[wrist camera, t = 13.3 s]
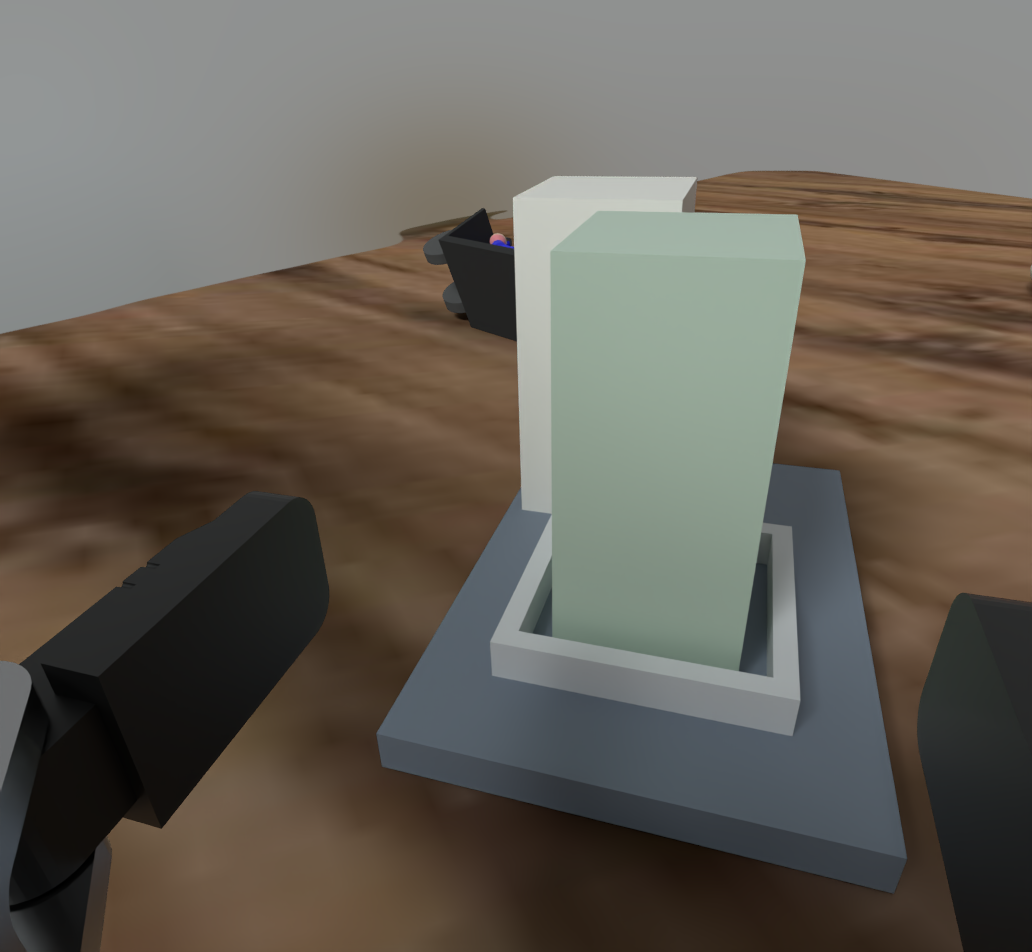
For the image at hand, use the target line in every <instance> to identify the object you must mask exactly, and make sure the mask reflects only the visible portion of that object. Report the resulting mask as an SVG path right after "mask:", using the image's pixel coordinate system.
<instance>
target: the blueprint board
mask: <svg viewBox="0 0 1032 952" xmlns="http://www.w3.org/2000/svg"><path fill="white" fill-rule="evenodd" d="M376 735H377V741H378V747H379V752H380V758H381V764H382V767H386V768H390V769H394V770H398V771H402V772H406V773H410V774H414V775H418V776H422V777H426V778H430V779H434V780H438V781H442V782H446V783H450V784H454V785H458V786H462V787H466V788H470V789H474V790H478V791H483V792H487V793H491V794H495V795H499V796H503V797H507V798H511V799H515V800H519V801H523V802H527V803H531V804H535V805H539V806H543V807H547V808H551V809H555V810H559V811H563V812H567V813H571V814H575V815H579V816H583V817H587V818H591V819H595V820H599V821H603V822H607V823H611V824H615V825H619V826H623V827H627V828H631V829H636V830H640V831H644V832H648V833H652V834H656V835H660V836H664V837H668V838H672V839H676V840H680V841H684V842H688V843H692V844H696V845H700V846H704V847H708V848H712V849H716V850H720V851H724V852H728V853H732V854H736V855H740V856H744V857H748V858H752V859H756V860H760V861H764V862H768V863H772V864H776V865H780V866H784V867H788V868H793V869H797V870H801V871H805V872H809V873H813V874H817V875H821V876H825V877H829V878H833V879H837V880H841V881H845V882H849V883H853V884H857V885H861V886H865V887H869V888H873V889H877V890H881V891H885V892H889V893H893V894H894V892H895V890H896V887H897V884H898V882H899V879H900V876H901V874H902V871H903V869H904V866H905V863H906V861H907V855H906V849H905V844H904V838H903V832H902V826H901V821H900V815H899V809H898V803H897V798H896V792H895V786H894V780H893V775H892V769H891V763H890V757H889V751H888V746H887V740H886V734H885V728H884V723H883V717H882V711H881V705H880V700H879V694H878V688H877V682H876V677H875V671H874V665H873V659H872V654H871V648H870V642H869V636H868V631H867V625H866V619H865V613H864V607H863V602H862V596H861V590H860V584H859V579H858V573H857V567H856V561H855V556H854V550H853V544H852V538H851V533H850V527H849V521H848V515H847V510H846V504H845V498H844V492H843V487H842V481H841V475H840V471H838V470H829V469H820V468H810V467H801V466H792V465H782V464H773V463H772V469H771V476H770V482H769V488H768V494H767V500H766V506H765V512H764V518H763V525H762V531H761V537H760V543H759V549H758V555H757V561H756V567H755V574H754V580H753V586H752V592H751V598H750V604H749V610H748V616H747V623H746V629H745V635H744V641H743V647H742V653H741V659H740V665H739V671H734V670H728V669H723V668H717V667H712V666H707V665H701V664H696V663H690V662H685V661H679V660H674V659H668V658H663V657H657V656H652V655H646V654H641V653H635V652H630V651H625V650H619V649H614V648H608V647H603V646H597V645H592V644H586V643H581V642H575V641H570V640H564V639H559V638H554V637H552V514H550V513H542V512H535V511H528V510H522V495H521V488H520V490H519V491H518V493H517V495H516V497H515V498H514V500H513V502H512V503H511V505H510V507H509V508H508V510H507V512H506V514H505V515H504V517H503V519H502V520H501V522H500V524H499V526H498V527H497V529H496V531H495V532H494V534H493V536H492V537H491V539H490V541H489V543H488V544H487V546H486V548H485V549H484V551H483V553H482V555H481V556H480V558H479V560H478V561H477V563H476V565H475V566H474V568H473V570H472V572H471V573H470V575H469V577H468V578H467V580H466V582H465V583H464V585H463V587H462V589H461V590H460V592H459V594H458V595H457V597H456V599H455V601H454V602H453V604H452V606H451V607H450V609H449V611H448V612H447V614H446V616H445V618H444V619H443V621H442V623H441V624H440V626H439V628H438V629H437V631H436V633H435V635H434V636H433V638H432V640H431V641H430V643H429V645H428V647H427V648H426V650H425V652H424V653H423V655H422V657H421V658H420V660H419V662H418V664H417V665H416V667H415V669H414V670H413V672H412V674H411V675H410V677H409V679H408V681H407V682H406V684H405V686H404V687H403V689H402V691H401V693H400V694H399V696H398V698H397V699H396V701H395V703H394V704H393V706H392V708H391V710H390V711H389V713H388V715H387V716H386V718H385V720H384V722H383V723H382V725H381V727H380V728H379V730H378V732H377V733H376Z"/></svg>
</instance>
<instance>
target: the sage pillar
mask: <svg viewBox="0 0 1032 952" xmlns="http://www.w3.org/2000/svg"><path fill="white" fill-rule="evenodd" d="M805 261H806V260H805V254H804V248H803V243H802V237H801V232H800V226H799V221H798V215H784V214H735V213H685V212H636V211H597V212H596V213H595V214H593V215H592V216H591V217H590V218H589V219H588V220H586V221H585V222H584V223H583V224H582V225H581V226H579V227H578V228H577V229H576V230H575V231H573V232H572V233H571V234H570V235H569V236H568V237H566V238H565V239H564V240H563V241H562V242H561V243H559V244H558V245H557V246H556V247H555V248H553V249H552V250H551V251H550V274H551V462H552V637H554V638H559V639H564V640H570V641H575V642H581V643H586V644H592V645H597V646H603V647H608V648H614V649H619V650H625V651H630V652H635V653H641V654H646V655H652V656H657V657H663V658H668V659H674V660H679V661H685V662H690V663H696V664H701V665H707V666H712V667H717V668H723V669H728V670H734V671H739V665H740V659H741V653H742V647H743V641H744V635H745V629H746V623H747V616H748V610H749V604H750V598H751V592H752V586H753V580H754V574H755V567H756V561H757V555H758V549H759V543H760V537H761V531H762V525H763V518H764V512H765V506H766V500H767V494H768V488H769V482H770V476H771V469H772V463H773V457H774V451H775V445H776V439H777V433H778V427H779V420H780V414H781V408H782V402H783V396H784V390H785V384H786V378H787V371H788V365H789V359H790V353H791V347H792V341H793V335H794V329H795V322H796V316H797V310H798V304H799V298H800V292H801V286H802V280H803V273H804V267H805Z"/></svg>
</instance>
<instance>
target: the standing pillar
mask: <svg viewBox="0 0 1032 952" xmlns="http://www.w3.org/2000/svg"><path fill="white" fill-rule="evenodd" d="M696 188H697V177H609V176H607V177H603V176H601V177H599V176H553V177H551V178H550V179H548V180H546V181H544V182H542V183H540V184H538V185H536V186H534V187H532V188H530V189H528V190H527V191H525V192H523V193H521V194H519V195H517V196H515V197H513V218H514V253H515V288H516V322H517V357H518V391H519V426H520V460H521V495H522V510H528V511H535V512H542V513H550V514H552V462H551V274H550V251H551V250H552V249H553V248H555V247H556V246H557V245H558V244H559V243H561V242H562V241H563V240H564V239H565V238H566V237H568V236H569V235H570V234H571V233H572V232H573V231H575V230H576V229H577V228H578V227H579V226H581V225H582V224H583V223H584V222H585V221H586V220H588V219H589V218H590V217H591V216H592V215H593V214H595V213H596V212H597V211H636V212H685V213H694V211H695V199H696Z"/></svg>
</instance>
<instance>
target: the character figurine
mask: <svg viewBox="0 0 1032 952" xmlns="http://www.w3.org/2000/svg"><path fill="white" fill-rule="evenodd" d="M511 245H512V241H511V239H510V238H506V237H504V236H503V235H502V234H494V235H493V232H492V229H491V226H490V223H489V219H488V216H487V213H486V210H485V209H484V208H482V209H481V210H479V211H478V212H476V213H475V214H474V215H472V216H471V217H469V218H468V219H467V220H465V221H464V222H462V223H461V224H460V225H458V226H457V227H456V228H454V229H453V230H450V231H446V232H443V233H441V234H439V235H437V236H435V237H433V238H432V239H430V240H429V241H428V242H427V243H426V244H425V245H424V248H423V251H424V253H425V256H426V258H427V261H428V262H429V263H431V264H434V265H441V264H448V267H449V269H450V272H451V275H452V277H453V280H454V282H453V283H452V284H450V285H449V286H448V287H447V288H446V289H445V290H444V292H443V299H444V302H445V304H446V307H447V309H448V310H449V311H451V312H454V313H466V314H467V317H468V320H469V322H470V325H471V327H472V328H476V329H479V330H482V331H485V332H488V333H492V334H495V335H498V336H501V337H505V338H508V339H511V340H514V341H517V322H516V288H515V253H514V247H511Z"/></svg>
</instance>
